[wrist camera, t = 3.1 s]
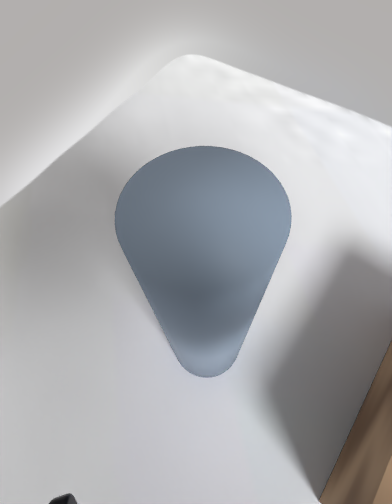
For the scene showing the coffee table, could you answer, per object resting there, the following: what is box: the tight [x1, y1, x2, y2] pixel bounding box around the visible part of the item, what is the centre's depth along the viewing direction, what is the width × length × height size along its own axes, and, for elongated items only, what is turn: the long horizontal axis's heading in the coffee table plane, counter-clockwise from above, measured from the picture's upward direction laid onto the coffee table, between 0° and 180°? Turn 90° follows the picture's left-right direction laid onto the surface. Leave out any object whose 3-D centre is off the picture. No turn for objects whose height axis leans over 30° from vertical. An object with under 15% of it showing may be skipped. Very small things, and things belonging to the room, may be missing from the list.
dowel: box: [115, 146, 291, 377], centre depth 13 cm, size 4×4×14 cm
